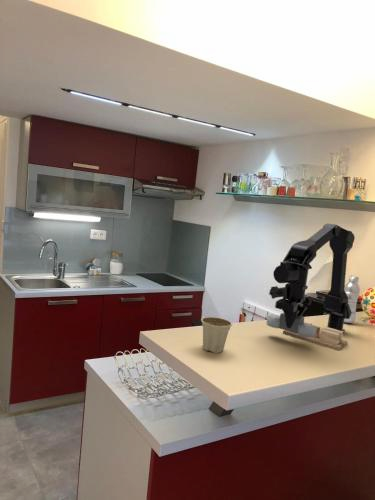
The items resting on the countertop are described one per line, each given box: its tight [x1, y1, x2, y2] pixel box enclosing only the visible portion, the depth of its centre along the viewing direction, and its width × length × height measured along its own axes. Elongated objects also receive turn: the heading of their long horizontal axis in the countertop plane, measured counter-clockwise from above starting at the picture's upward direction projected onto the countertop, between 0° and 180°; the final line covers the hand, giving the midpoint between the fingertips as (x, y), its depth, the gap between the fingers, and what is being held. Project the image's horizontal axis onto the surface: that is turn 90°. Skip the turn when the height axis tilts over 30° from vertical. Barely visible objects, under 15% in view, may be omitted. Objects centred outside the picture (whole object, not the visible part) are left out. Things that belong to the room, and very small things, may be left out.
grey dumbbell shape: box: [266, 312, 317, 338], centre depth 138 cm, size 6×17×5 cm, turn 55°
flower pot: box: [200, 316, 233, 353], centre depth 123 cm, size 9×9×9 cm
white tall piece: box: [344, 275, 361, 324], centre depth 173 cm, size 6×7×20 cm
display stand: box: [282, 320, 348, 351], centre depth 146 cm, size 10×20×4 cm, turn 55°
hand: (290, 326), depth 139 cm, fingers closed on grey dumbbell shape, 4 cm apart
